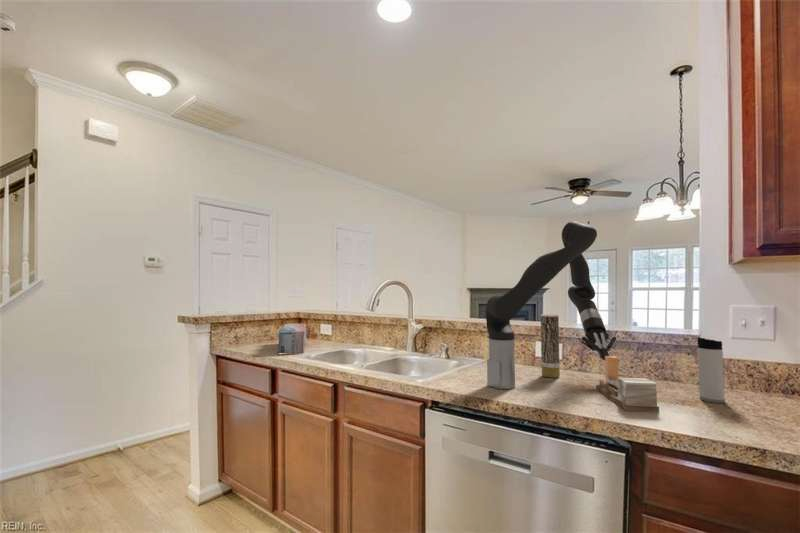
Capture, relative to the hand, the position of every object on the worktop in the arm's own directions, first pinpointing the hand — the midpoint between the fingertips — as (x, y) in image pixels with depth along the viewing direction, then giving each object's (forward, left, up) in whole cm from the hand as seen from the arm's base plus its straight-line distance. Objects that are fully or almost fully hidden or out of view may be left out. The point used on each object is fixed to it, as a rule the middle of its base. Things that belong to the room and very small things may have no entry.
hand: (605, 358), depth 139 cm
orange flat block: (-8, -9, -8) cm, 14 cm away
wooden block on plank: (-11, -12, -10) cm, 19 cm away
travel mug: (+12, -28, -10) cm, 32 cm away
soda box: (-74, +145, -10) cm, 163 cm away
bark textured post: (-4, +20, -10) cm, 23 cm away
